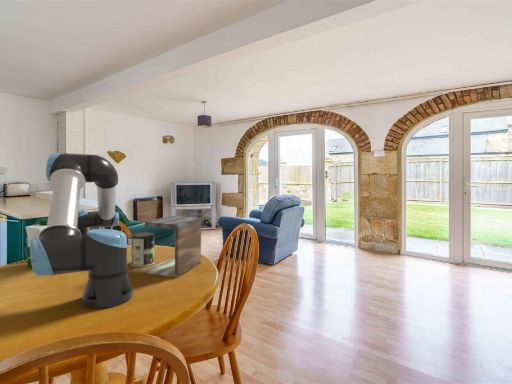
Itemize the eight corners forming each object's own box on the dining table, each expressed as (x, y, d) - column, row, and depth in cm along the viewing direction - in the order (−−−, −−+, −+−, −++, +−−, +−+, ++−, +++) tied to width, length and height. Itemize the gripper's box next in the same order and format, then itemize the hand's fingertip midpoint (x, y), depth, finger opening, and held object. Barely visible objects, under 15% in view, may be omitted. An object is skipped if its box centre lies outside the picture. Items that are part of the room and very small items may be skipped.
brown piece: (145, 272, 121) (145, 222, 120) (171, 259, 140) (171, 215, 139) (177, 277, 116) (178, 224, 115) (200, 263, 136) (201, 217, 134)
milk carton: (58, 263, 130) (57, 220, 129) (37, 269, 122) (36, 223, 120) (44, 261, 133) (43, 219, 132) (23, 266, 124) (22, 222, 123)
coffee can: (154, 259, 140) (154, 231, 139) (154, 266, 130) (154, 235, 129) (131, 261, 136) (131, 232, 135) (130, 268, 126) (130, 237, 125)
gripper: (113, 243, 153) (146, 247, 147) (71, 256, 129) (109, 261, 123) (113, 230, 153) (146, 233, 147) (71, 240, 129) (109, 244, 123)
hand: (129, 246), depth 135 cm, fingers open, 13 cm apart
